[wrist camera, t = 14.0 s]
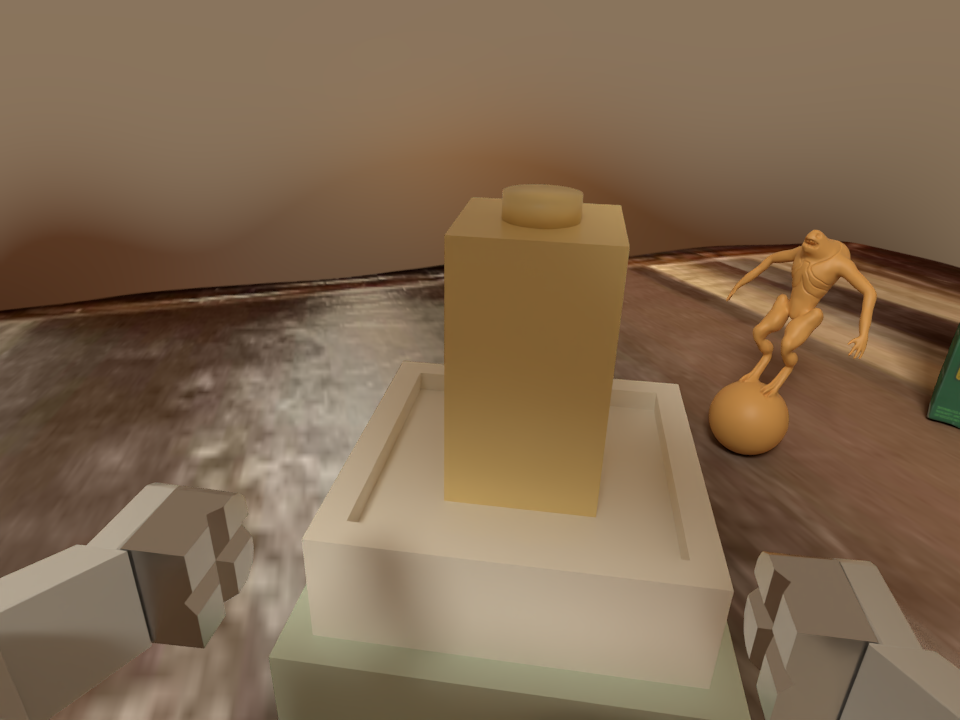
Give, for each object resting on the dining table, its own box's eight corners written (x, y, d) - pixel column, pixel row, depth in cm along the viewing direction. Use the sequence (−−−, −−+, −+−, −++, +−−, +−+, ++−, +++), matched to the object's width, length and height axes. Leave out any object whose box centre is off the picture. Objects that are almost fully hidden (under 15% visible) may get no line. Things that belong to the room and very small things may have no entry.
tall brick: (444, 501, 22) (444, 206, 18) (467, 423, 27) (472, 173, 22) (596, 517, 22) (633, 216, 17) (594, 435, 26) (623, 180, 22)
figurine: (662, 420, 39) (696, 216, 34) (739, 400, 42) (782, 207, 36) (774, 501, 32) (837, 263, 27) (857, 472, 35) (930, 248, 30)
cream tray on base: (279, 723, 21) (253, 559, 18) (392, 471, 34) (387, 349, 31) (731, 793, 20) (782, 625, 17) (675, 501, 32) (698, 375, 29)
